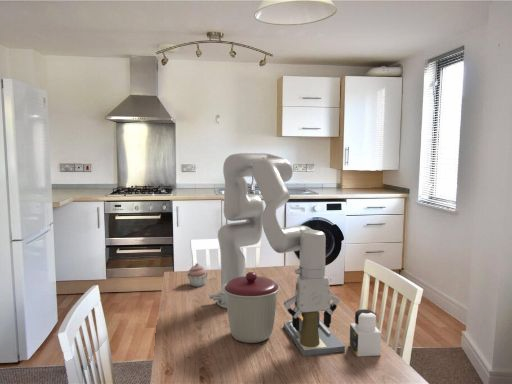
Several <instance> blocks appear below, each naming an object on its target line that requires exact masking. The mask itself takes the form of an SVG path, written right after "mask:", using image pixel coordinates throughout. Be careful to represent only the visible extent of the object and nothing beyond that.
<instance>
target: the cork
mask: <svg viewBox="0 0 512 384" xmlns="http://www.w3.org/2000/svg"><path fill="white" fill-rule="evenodd" d="M319 313H320V311H319V312H318V311H317V312H306V313H303V312H301V313H300V314H301V316H302V317H303V322H302V329H301V336H300V344H301V345H303V346H306V347H316V346H318V345H319V344H320V341H319V333H318V324H317V318H318V315H319Z"/></svg>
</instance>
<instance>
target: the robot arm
mask: <svg viewBox="0 0 512 384" xmlns="http://www.w3.org/2000/svg"><path fill="white" fill-rule="evenodd" d="M222 167H223V168H222V172H223V173H222V174H223V178H224V195H223V196H224V197H223V215H224V218H225V219H226V220H227V221H231V222H232V223H226V224H223V225H222V226H221V227H219V229H218V231H217V240H218V245H219V251H220V287H221V288H220V290H219V292H216V293H209V295H208V296H209V297H208V299H209V300H213V301H216V303H217V305H218V306H219V307H221V308H224V309H227V304H226V295H225V292H224V290H223V286H224V284H226V283H227V282H229V281H230V280H232V279H235V278H238V277H244V276H246V257H245V254H244V253H243V252H242V251H241V248H243V247H248V246H254V245H256V244H258V243H259V242H260V241H261V238H262V233H264V235H265V237H266V240H267V241H268V244H269V246H270V247H271V249H272V250H273V251H275V253H278V254H286V253H291V252H298V251H299V266H298V268H297V269H295V270H294V273H295V275H297V278H296V281H295V282H296V283H295V287H294V295H293V296H292V297H290V298H289V299H287V300H285V301H284V302H283V306H284V307H285V309H286V311H287V312H288V313H289V314H290V315H291V316H292V325H293V327H294V328H295V329H296V331H299V316H300V314H301V312H303V313H306V312H317V311H319V312H323V323H324V324H325V326H326V327H328V328H329V329H330V327H331V325H330V324H332V315H333V312H334V311H335V310H337V306H338V305H339V303H340V298H339V297H338V296H335V295H333V294H331V290H330V289H331V287H330V281H329V277H328V275H326V243H327V242H326V239H327V238H326V234H325V232H323V231H321V230H318V229H317V230H316V229H313V228H311V227H309V226H306V225H295V226H287V227H286V226H285V227H282V226H281V225H280V223H279V221H278V217H277V209H278V210H279V209H280V208H281V207H282V206H284V205H285V204H287V203H288V202H289V200H290V198H291V194H290V192H289V190H288V188H287V185H286V182H288V181H290V180H291V179H292V177H293V166H292V164H291V163H290V161H289V160H287V159H286V158H284V157H282V156H277V155H274V154H271V153H265V152H259V153H257V152H254V153H253V152H250V153H249V152H240V153H238V152H237V153H233V154H230V155H228V156H227V157H226V158H225V160H224V162H223V165H222ZM247 177H248V178H249V177H250V178H251V177H253V179H254V181H255V183H256V185H257V188H258V190H259V192H260V194H261V197H262V198H261V197H260V196H258V195H257V194H248V188H249V187H248V182H247V180H246V178H247ZM262 199H263V200H262ZM263 201H264V203H265V206H264V203H263ZM244 220H245V221H244ZM235 221H240V222H235ZM263 231H264V232H263ZM331 301H332V302H331ZM293 304H294V308H293V309H292V308H291V305H293Z"/></svg>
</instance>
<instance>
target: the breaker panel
mask: <svg viewBox="0 0 512 384" xmlns="http://www.w3.org/2000/svg"><path fill="white" fill-rule="evenodd" d="M283 328H284V329H285V331H286V333H287V334H288V335H289V338H291V340H292V342H293V343H294V345H295V346H296V348H297V349H298V350H299V352H300V353H301V355H302V356H303V357H307V356H314V355H321V354H322V355H325V354H330V353H331V354H332V353H340V352H345V351H346V349H345V348H346V347H345V344H344V343H342V341H341V340H340V339H339V338H338V337H337V336H336V335H335V334H334V332H332V331H331V330H330V328H328V327H326V326H325V324H324V321H323V320H322V319H319V326H318V333H319V341H320V344H319V345H318V346H316V347H306V346H303V345H301V344H300V336H301V334H300V333H299V332H298V331H296V329H295V328H294V327H293V325H292V320H291V319H290V320H287V322H283Z"/></svg>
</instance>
